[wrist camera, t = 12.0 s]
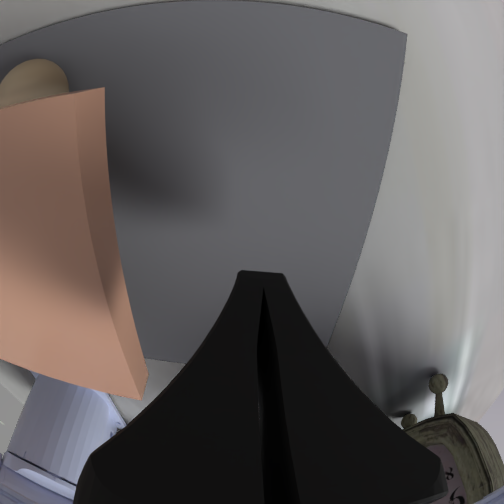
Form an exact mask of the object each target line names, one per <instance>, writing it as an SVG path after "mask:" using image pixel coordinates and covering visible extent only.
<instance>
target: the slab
mask: <svg viewBox="0 0 504 504" xmlns="http://www.w3.org/2000/svg"><path fill="white" fill-rule="evenodd" d="M0 359H2V360H5V361H7V362H10V363H12V364H15V365H17V366H20V367H23V368H25V369H28V370H31V371H34V372H36V373H39V374H42V375H45V376H48V377H51V378H54V379H58V380H61V381H64V382H67V383H71V384H74V385H78V386H81V387H85V388H89V389H93V390H97V391H101V392H105V393H109V394H113V395H118V396H122V397H127V398H132V399H137V400H142V398H143V394H144V390H145V387H146V383H147V379H148V375H149V373H148V370H147V367H146V363H145V360H144V356H143V353H142V349H141V346H140V342H139V339H138V335H137V331H136V327H135V323H134V319H133V315H132V311H131V307H130V303H129V298H128V294H127V289H126V285H125V280H124V275H123V270H122V265H121V259H120V254H119V248H118V242H117V236H116V229H115V223H114V216H113V208H112V200H111V192H110V183H109V172H108V161H107V147H106V128H105V87H102V88H94V89H87V90H80V91H73V92H67V93H62V94H56V95H51V96H46V97H41V98H37V99H32V100H28V101H24V102H20V103H16V104H12V105H8V106H5V107H1V108H0Z"/></svg>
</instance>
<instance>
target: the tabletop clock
mask: <svg viewBox="0 0 504 504" xmlns="http://www.w3.org/2000/svg"><path fill="white" fill-rule="evenodd" d="M447 385H448V379H447V377H446V376H445V375H443V374H436V375H434V376H433V377H432V378H431V379H430V381H429V389H430V390H431V392H433V393H435V394H436V397H435V415H434V417H431V418H428V419H425V420H423V421H421V422H418V423H417V417H416V416H415V415H414V414H407V415H405V416H404V417H403V419H402V421H401V426H402V427H403V428H404V429H403V431H404V432H406V433H407V434H408V435H409V436H411V437H412V438H413V439H415V440H416V441H418V442H419V443H420V444H422V445H423V446H425V447H426V448H427V449H429V450H430V451H432V452H433V453H434V454H436V455H437V456H439V457H440V459H441V462H442V465H443V468H444V471H445V475H446V480H447V485H448V490H449V492H448V494H447V495H446V496H445V497H443V498H441V499H439V500H437V501H435V502H432V503H430V504H474V503H476V502H478V501H480V500H482V499H483V498H484V497H485V496H487V495H488V494H490V493H492V492H494V491H496V490H497V489H499V488H501V487H503V486H504V464H503V461H502V459H501V456H500V454H499V452H498V449H497V447H496V445H495V443H494V441H493V440H492V438H491V436H490V435H489V433H488V432H487V431H486V430H485V429H484V428H483V427H482V426H481V425H479V424H478V423H477V422H474V421H472V420H469V419H467V418H464V417H462V416H459V415H457V414H454V413H451V414H445V412H444V404H443V397H442V392H443V391H445V389H446V388H447Z"/></svg>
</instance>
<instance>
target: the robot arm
mask: <svg viewBox="0 0 504 504" xmlns="http://www.w3.org/2000/svg"><path fill="white" fill-rule="evenodd" d="M30 372H31V373H32V375H33V376H34V377H35V379H36V381H35V383H34V385H33V387H32V389H31V391H30V394H29V396H28V398H27V401H26V403H25V405H24V408H23V410H22V412H21V415H20V417H19V420H18V422H17V425H16V427H15V430H14V433H13V435H12V438H11V441H10V443H9V446H8V449H7V451H6V452H5V453H4V455H3V458H2V454H1V453H0V504H430V503H432V502H435V501H437V500H439V499H441V498H443V497H445V496H446V495H447V494H448V492H449V490H448V485H447V480H446V475H445V471H444V468H443V465H442V462H441V459H440V457H439V456H437V455H436V454H434V453H433V452H432V451H430V450H429V449H427V448H426V447H425V446H423V445H422V444H420V443H419V442H418V441H416V440H415V439H413V438H412V437H411V436H409V435H408V434H407V433H406V432H404V431H403V430H402V429H401V428H400V427H398V426H397V425H396V424H395V423H394V422H393V421H391V420H390V419H389V418H388V417H387V416H386V415H385V414H384V413H383V412H382V411H381V410H380V409H379V408H378V407H377V406H376V405H375V404H374V403H373V402H372V401H371V400H370V399H369V398H368V397H367V396H366V395H365V394H364V393H363V392H362V391H361V390H360V389H359V388H358V387H357V386H356V385H355V383H354V382H353V381H352V380H351V379H350V378H349V377H348V375H347V374H346V373H345V372H344V370H343V369H342V368H341V367H340V366H339V364H338V363H337V362H336V360H335V359H334V358H333V356H332V355H331V354H330V352H329V351H328V350H327V348H326V347H325V345H324V344H323V342H322V341H321V339H320V338H319V336H318V335H317V333H316V332H315V330H314V329H313V327H312V325H311V324H310V322H309V320H308V319H307V317H306V316H305V314H304V312H303V310H302V309H301V307H300V305H299V303H298V301H297V299H296V298H295V296H294V294H293V292H292V290H291V288H290V286H289V284H288V281H287V279H286V277H285V275H284V274H283V273H274V272H261V271H248V270H241V271H239V272H238V273H237V278H236V281H235V284H234V287H233V289H232V291H231V294H230V296H229V298H228V300H227V302H226V304H225V306H224V308H223V309H222V311H221V313H220V315H219V317H218V319H217V320H216V322H215V324H214V325H213V327H212V328H211V330H210V331H209V333H208V334H207V336H206V338H205V339H204V341H203V342H202V344H201V345H200V346H199V348H198V349H197V351H196V352H195V353H194V355H193V356H192V357H191V358H190V360H189V361H188V362H187V364H186V365H185V366H184V367H183V369H182V370H181V371H180V372H179V373H178V374H177V376H176V377H175V378H174V379H173V380H172V381H171V382H170V384H169V385H168V386H167V387H166V388H165V389H164V390H163V391H162V392H161V393H160V394H159V395H158V396H157V397H156V398H155V399H154V400H153V401H152V402H151V403H150V404H149V405H148V406H147V407H146V408H145V409H144V410H143V411H142V412H141V413H140V414H138V415H137V416H136V417H135V418H134V419H133V420H132V421H131V422H130V423H129V424H127V425H126V423H125V422H124V420H123V418H122V417H121V415H120V413H119V412H118V410H117V408H116V407H115V405H114V403H113V402H112V400H111V398H110V396H109V394H108V393H105V392H101V391H97V390H93V389H89V388H85V387H81V386H78V385H74V384H71V383H67V382H64V381H61V380H58V379H54V378H51V377H48V376H45V375H42V374H39V373H36V372H34V371H31V370H30ZM258 403H259V407H258ZM117 428H120V429H121V430H120V431H119V432H118V433H116V431H117ZM474 504H504V486H503V487H501V488H499V489H497V490H496V491H494V492H492V493H490V494H488V495H487V496H485V497H484V498H483V499H482V500H480V501H478V502H476V503H474Z"/></svg>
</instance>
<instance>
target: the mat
mask: <svg viewBox="0 0 504 504" xmlns="http://www.w3.org/2000/svg"><path fill="white" fill-rule="evenodd" d="M406 42H407V34H406V33H403V32H400V31H397V30H394V29H391V28H388V27H385V26H382V25H379V24H376V23H372V22H369V21H365V20H361V19H358V18H354V17H350V16H346V15H341V14H337V13H332V12H327V11H322V10H317V9H311V8H305V7H299V6H292V5H284V4H276V3H266V2H253V1H234V0H196V1H177V2H164V3H154V4H146V5H138V6H131V7H125V8H119V9H114V10H109V11H104V12H99V13H95V14H90V15H86V16H82V17H78V18H74V19H71V20H67V21H64V22H60V23H57V24H54V25H51V26H48V27H45V28H42V29H39V30H36V31H33V32H31V33H28V34H25V35H23V36H20V37H18V38H15V39H13V40H11V41H8V42H6V43H4V44H1V45H0V84H1V82H2V81H3V79H4V77H5V76H6V75H7V74H8V73H9V72H10V71H11V70H12V69H13V68H14V67H16V66H17V65H19V64H21V63H23V62H25V61H28V60H32V59H46V60H49V61H52V62H54V63H55V64H57V65H58V66H59V67H60V68H61V69H62V70H63V71H64V73H65V75H66V77H67V80H68V84H69V92H73V91H80V90H87V89H94V88H102V87H105V128H106V147H107V161H108V172H109V183H110V192H111V200H112V208H113V216H114V223H115V229H116V236H117V242H118V248H119V254H120V259H121V265H122V270H123V275H124V280H125V285H126V289H127V294H128V298H129V303H130V307H131V311H132V315H133V319H134V323H135V327H136V331H137V335H138V339H139V342H140V346H141V349H142V353H143V356H144V358H149V359H155V360H162V361H169V362H177V363H185V364H187V362H188V361H189V360H190V358H191V357H192V356H193V355H194V353H195V352H196V351H197V349H198V348H199V346H200V345H201V344H202V342H203V341H204V339H205V338H206V336H207V334H208V333H209V331H210V330H211V328H212V327H213V325H214V324H215V322H216V320H217V319H218V317H219V315H220V313H221V311H222V309H223V308H224V306H225V304H226V302H227V300H228V298H229V296H230V294H231V291H232V289H233V287H234V284H235V281H236V278H237V273H238V272H239V271H241V270H248V271H261V272H274V273H283V274H284V275H285V277H286V279H287V281H288V284H289V286H290V288H291V290H292V292H293V294H294V296H295V298H296V299H297V301H298V303H299V305H300V307H301V309H302V310H303V312H304V314H305V316H306V317H307V319H308V320H309V322H310V324H311V325H312V327H313V329H314V330H315V332H316V333H317V335H318V336H319V338H320V339H321V341H322V342H323V344H324V345H325V347H326V348H327V345H328V343H329V340H330V338H331V335H332V333H333V330H334V328H335V325H336V322H337V320H338V317H339V315H340V312H341V309H342V307H343V304H344V301H345V298H346V296H347V293H348V290H349V287H350V284H351V281H352V278H353V275H354V272H355V270H356V266H357V263H358V260H359V257H360V254H361V251H362V248H363V245H364V241H365V238H366V235H367V231H368V228H369V225H370V221H371V218H372V214H373V211H374V207H375V203H376V200H377V196H378V192H379V188H380V184H381V180H382V176H383V172H384V168H385V164H386V159H387V155H388V151H389V146H390V141H391V137H392V132H393V127H394V122H395V116H396V111H397V105H398V100H399V94H400V87H401V81H402V74H403V67H404V59H405V51H406Z"/></svg>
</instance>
